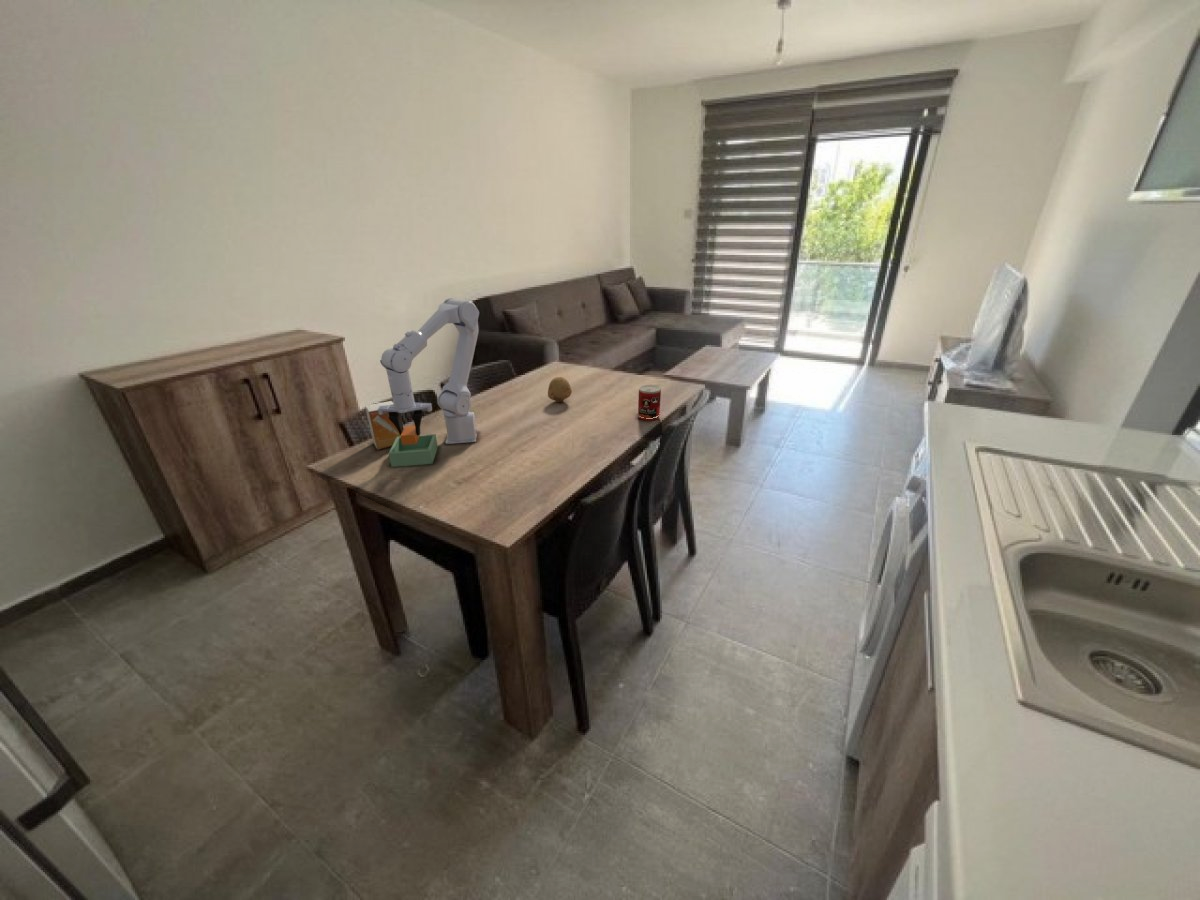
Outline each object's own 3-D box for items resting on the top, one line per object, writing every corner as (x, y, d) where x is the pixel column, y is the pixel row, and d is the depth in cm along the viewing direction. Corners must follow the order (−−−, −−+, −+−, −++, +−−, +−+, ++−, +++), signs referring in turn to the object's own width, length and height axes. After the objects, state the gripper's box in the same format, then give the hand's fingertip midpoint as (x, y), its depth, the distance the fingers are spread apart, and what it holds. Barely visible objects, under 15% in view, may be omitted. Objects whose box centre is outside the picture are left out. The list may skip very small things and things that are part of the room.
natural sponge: (576, 400, 188) (576, 376, 184) (563, 407, 182) (562, 382, 177) (558, 396, 193) (557, 372, 188) (544, 403, 186) (543, 378, 182)
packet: (420, 434, 147) (418, 425, 145) (416, 443, 140) (414, 434, 139) (406, 435, 146) (405, 426, 145) (402, 445, 140) (400, 435, 138)
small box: (377, 450, 150) (368, 411, 144) (373, 443, 154) (364, 405, 149) (404, 444, 154) (396, 406, 148) (399, 437, 158) (391, 400, 153)
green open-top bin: (437, 446, 152) (435, 434, 150) (432, 463, 142) (430, 450, 140) (399, 449, 150) (396, 436, 148) (391, 467, 140) (388, 453, 138)
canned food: (635, 419, 171) (636, 390, 166) (641, 411, 178) (642, 383, 173) (655, 422, 168) (657, 393, 164) (661, 414, 175) (663, 386, 170)
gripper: (371, 397, 132) (381, 442, 138) (426, 394, 134) (433, 438, 140) (377, 389, 138) (387, 432, 144) (429, 386, 140) (437, 428, 146)
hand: (410, 434), depth 143 cm, fingers closed on packet, 4 cm apart
